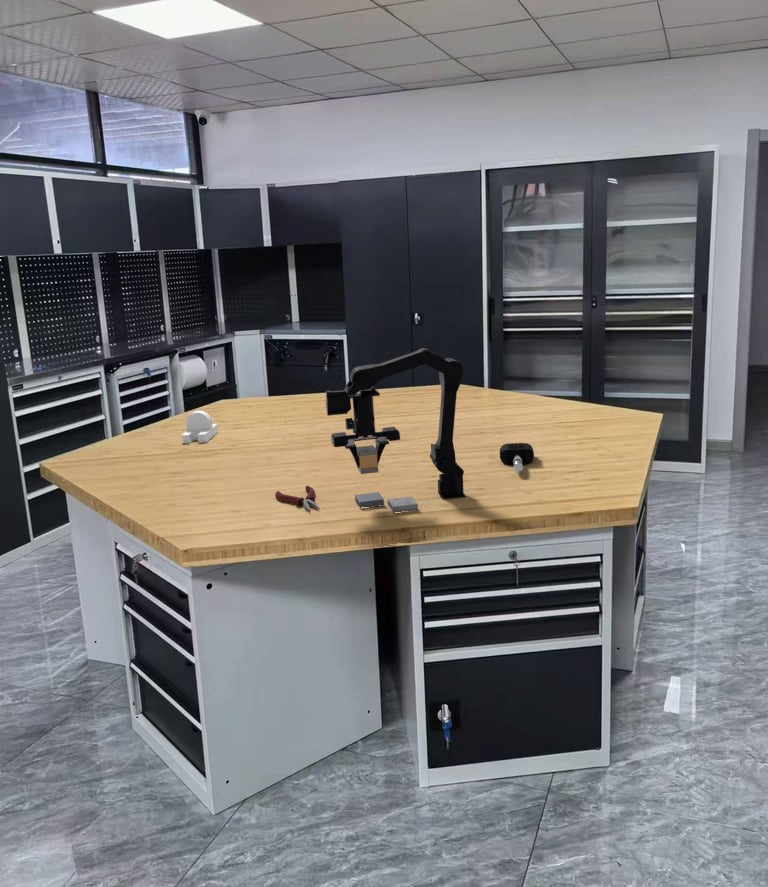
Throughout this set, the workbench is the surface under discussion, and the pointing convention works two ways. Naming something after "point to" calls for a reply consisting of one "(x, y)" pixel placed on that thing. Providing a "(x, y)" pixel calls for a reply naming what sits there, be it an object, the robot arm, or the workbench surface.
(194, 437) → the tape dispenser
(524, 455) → the audio adapter
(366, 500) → the stand
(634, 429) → the workbench surface
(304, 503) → the pliers
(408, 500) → the stand
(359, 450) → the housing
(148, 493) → the workbench surface
